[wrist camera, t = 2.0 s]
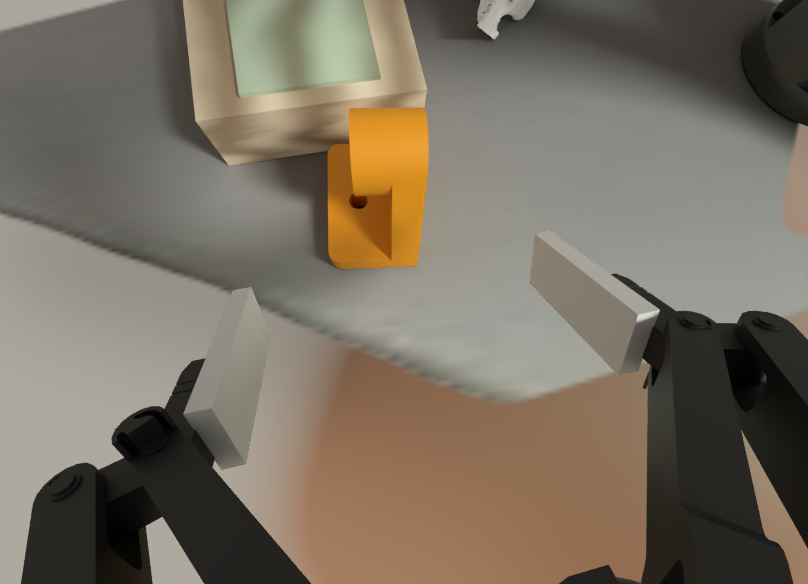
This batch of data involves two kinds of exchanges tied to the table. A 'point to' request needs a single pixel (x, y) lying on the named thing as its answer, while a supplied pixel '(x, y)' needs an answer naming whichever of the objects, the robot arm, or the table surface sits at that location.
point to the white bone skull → (500, 13)
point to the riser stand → (296, 71)
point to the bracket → (378, 189)
